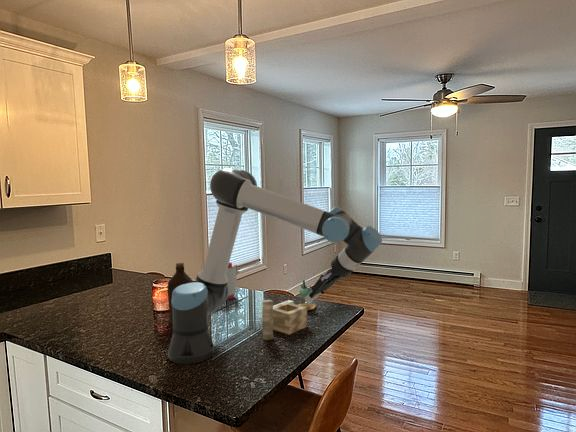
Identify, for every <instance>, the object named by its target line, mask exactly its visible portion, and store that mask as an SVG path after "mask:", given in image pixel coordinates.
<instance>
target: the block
mask: <svg viewBox="0 0 576 432" xmlns="http://www.w3.org/2000/svg"><path fill="white" fill-rule="evenodd" d="M284 302H285V301H284ZM281 303H282V302H281ZM279 304H280V303H279ZM276 305H277V304H276ZM273 306H274V305H273ZM307 327H308V310H307V307H304V306H300V305H299V304H297V303H294V304H292V303H288V302H285V303H282V304H280V305H277V306H274V307H273V331H277V332H280V333H284V334H286V335H291V334H293V333H296V332H299V331H301V330H302V329H305V328H307Z"/></svg>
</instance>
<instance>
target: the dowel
mask: <svg viewBox="0 0 576 432" xmlns="http://www.w3.org/2000/svg"><path fill="white" fill-rule="evenodd" d="M261 306H262V307H261V308H262V309H261V310H262V312H261V319H262V323H261V324H262V325H261V326H262V330H261V333H262V339H263V340H264V341H271V340H273V339H274V329H273V306H274V301H273V300H272V299H263V300H262V301H261Z"/></svg>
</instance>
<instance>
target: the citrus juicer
mask: <svg viewBox="0 0 576 432" xmlns="http://www.w3.org/2000/svg"><path fill="white" fill-rule="evenodd" d="M238 274H240V270H238V265H237V264H235V265H233V263H232V262H230V261H229V265H228V268H227V272H226V276H227V278H228V284H227V286H228V289H229V294H228V297H227V300H226V301H228V300H232V299H233V298H234V297H235V294H236V290H237V280H238V278H237V275H238Z"/></svg>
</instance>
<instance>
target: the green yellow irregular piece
mask: <svg viewBox="0 0 576 432" xmlns="http://www.w3.org/2000/svg"><path fill="white" fill-rule="evenodd" d="M311 288H312V286H311V285H310V286H309V288H308V287H307V286H306V281H305V279H302V284H301V285H300V289H299V296H300V297H301V298H300V299H295V300H294V303H295V304H298V305H300V306H304V307H307V311H311V310H314V309H316V307H317V304H315V303H312V302H311V303H310V304H308V303H307V302H306V300H305V303H298V302H301V300H302V299H304V298H305V297H306V296H307V295H308V294H309V293H310V292H311V291H312V289H311Z"/></svg>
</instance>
